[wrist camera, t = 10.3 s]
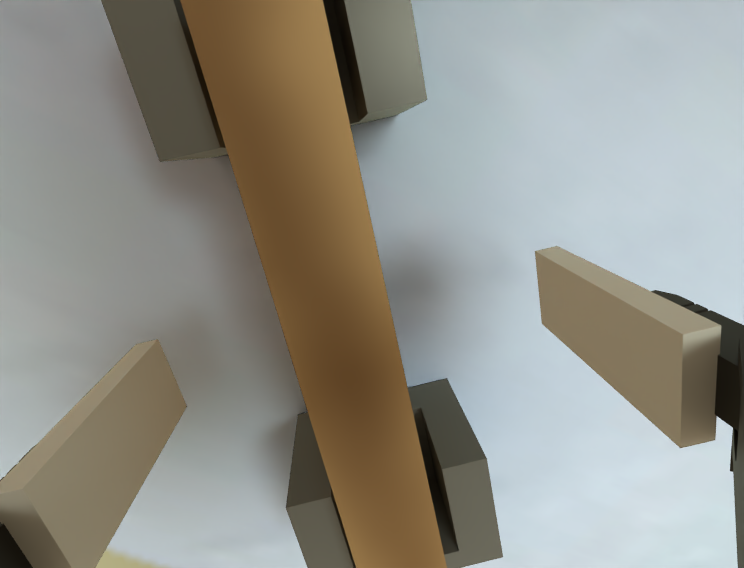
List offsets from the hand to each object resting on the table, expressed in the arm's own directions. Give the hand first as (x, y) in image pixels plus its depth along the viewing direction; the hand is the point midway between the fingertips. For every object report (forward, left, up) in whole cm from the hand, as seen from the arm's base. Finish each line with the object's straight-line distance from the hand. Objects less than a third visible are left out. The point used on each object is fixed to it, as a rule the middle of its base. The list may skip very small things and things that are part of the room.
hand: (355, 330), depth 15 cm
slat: (0, +1, -5) cm, 5 cm away
